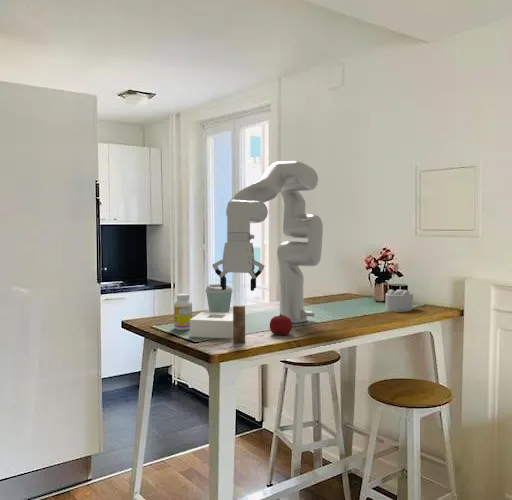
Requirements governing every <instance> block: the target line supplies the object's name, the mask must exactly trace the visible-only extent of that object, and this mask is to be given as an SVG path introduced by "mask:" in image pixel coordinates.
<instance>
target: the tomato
mask: <svg viewBox="0 0 512 500" xmlns="http://www.w3.org/2000/svg"><path fill="white" fill-rule="evenodd" d="M292 329H293V323H292V321H291V320H290V318H288V317H286V316H284V315H282V314H280V313H279V315H275V316H273V317H271V319H270V321H269V330H270V332H271V333H272V334H274V335H277V336H287V335H288V334H290V333H291V331H292Z"/></svg>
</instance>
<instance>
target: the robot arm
mask: <svg viewBox="0 0 512 500" xmlns="http://www.w3.org/2000/svg"><path fill="white" fill-rule="evenodd" d="M318 184H319V176H318V173H317V171H316V170H315V169H314V168H313V167H311V166H309V164H306V163H304V162H303V161H302V162H301V161H299V160H290V161H276V162H273V163H272V164H271V165H270V166H269V167H268V168H267V169H266V170H265V171H264V173H263V174H262V176H261V177H260V178H259V180H258V181H256V182H254V183H251V184H250V185H248V186H246V187H244V188H242V189H241V190H239V191H238V192H236V193H235V194H234V195H233V197H232V198H230V200H229V201H228V203H227V205H226V210H225V213H226V214H225V215H226V242H224V246H223V251H222V252H223V253H222V259H220V260H218V261H217V262H214V263H212V268H213V269H214V271H215V274H216V275H217V276H218V277H219V278H220V280H219V281H220V283H219V285H220V287H222V290H225V289H226V285H227V277H226V275H227V274H228V273H239V274H240V273H241V274H247V273H248V274H249V275H250V277H251V279H250V291H251V292H253V291H255V289H256V288H257V278H258V277H259V276H260V275H261V274H262V272H263V271H264V268H265V267H266V266H265V264H263V263H261V262H259V261H258V260H256V259H255V252H254V245H253V242H252V241H251V240H254V239H255V234H252V233H251V224H259V223H262V222H264V221H265V220H266V219H267V218H268V213H269V210H268V206H267V205H266V204H265V203H267V202H269V201H272V200H274V199H276V197H277V196H278V194H279V193H280V195H281V197H282V199H283V204H284V205H283V208H284V209H283V219H282V220H283V222H282V233H283V235H284V236H285V237H287V238H291V239H307V241H297V240H296V241H294V240H293V241H292V240H291V241H283V242H282V243H280V244H279V245H278V247H277V251H276V255H277V261H278V266H279V268H278V269H279V315H280V314H282V315H284V316H286V317H288V318H290V320H291V321H292V324H296V323H297V324H298V323H305V322H307V321H308V317H312V318H313V317H315V311H311V310H310V311H307V310H305V309H306V308H305V307H304V274H303V272H302V270H301V268H300V267H315V266H318V265H319V264H320V262H321V258H322V249H323V248H322V246H323V231H324V229H323V228H324V226H323V221H322V219H321V217H320V216H319V215H317V214H306V207H307V206H306V200H305V198H304V196H303V195H302V193H300V191H301V192H303V191H304V192H305V191H306V192H308V191H312V190H315V189H316V187H317V186H318ZM221 265H222V266H221ZM219 266H221V267H222V271H221V269H219ZM255 266H256V267H258V270H257V271H255Z"/></svg>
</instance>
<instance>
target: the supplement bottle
mask: <svg viewBox="0 0 512 500" xmlns="http://www.w3.org/2000/svg"><path fill="white" fill-rule="evenodd" d="M176 299H177V300H176V301H175V302H174V303H173V309H174V310H173V313H174V315H173V319H174V320H173V321H174V324H173V325H174V329H175V330H177V331H187V330H190V319H192V318H193V302H192V301H191V300H190V294H189V293H177V294H176Z"/></svg>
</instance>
